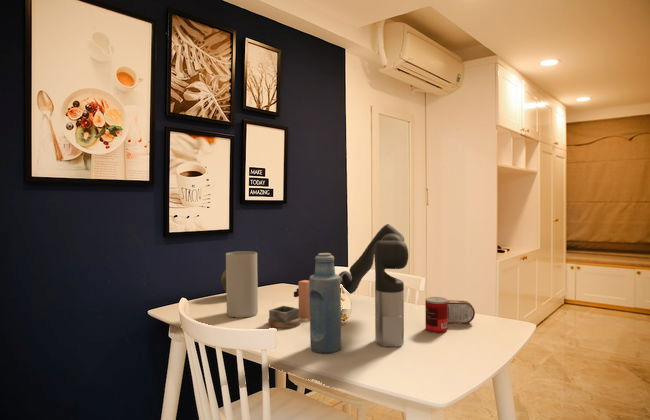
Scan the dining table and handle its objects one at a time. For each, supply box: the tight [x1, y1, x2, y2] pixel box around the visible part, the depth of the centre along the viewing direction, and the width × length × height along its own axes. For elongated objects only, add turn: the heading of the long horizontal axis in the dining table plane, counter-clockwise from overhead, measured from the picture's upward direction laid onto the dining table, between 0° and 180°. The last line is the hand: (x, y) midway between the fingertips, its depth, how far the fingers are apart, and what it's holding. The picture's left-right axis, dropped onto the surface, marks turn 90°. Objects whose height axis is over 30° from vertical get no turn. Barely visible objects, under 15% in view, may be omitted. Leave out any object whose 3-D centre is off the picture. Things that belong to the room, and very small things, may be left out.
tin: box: [447, 299, 476, 325], centre depth 158 cm, size 15×3×8 cm, turn 84°
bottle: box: [308, 252, 342, 355], centre depth 132 cm, size 10×10×30 cm
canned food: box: [424, 296, 449, 334], centre depth 150 cm, size 8×8×11 cm
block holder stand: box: [267, 305, 301, 330], centre depth 158 cm, size 12×12×6 cm
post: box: [297, 279, 310, 319], centre depth 169 cm, size 4×4×14 cm
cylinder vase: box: [225, 250, 259, 319], centre depth 172 cm, size 12×12×25 cm
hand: (302, 296), depth 167 cm, fingers open, 8 cm apart
